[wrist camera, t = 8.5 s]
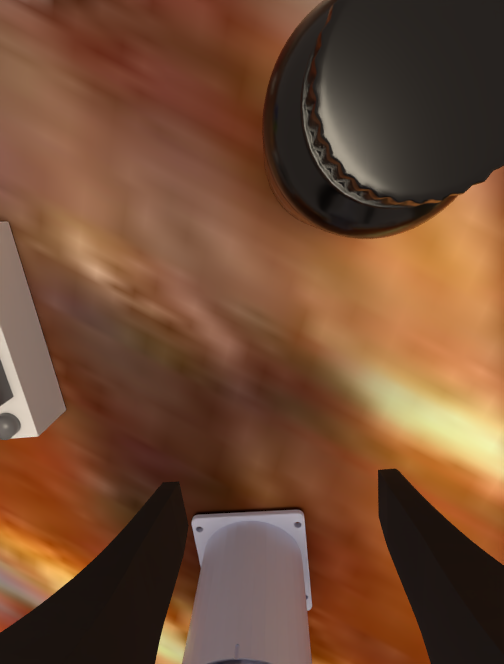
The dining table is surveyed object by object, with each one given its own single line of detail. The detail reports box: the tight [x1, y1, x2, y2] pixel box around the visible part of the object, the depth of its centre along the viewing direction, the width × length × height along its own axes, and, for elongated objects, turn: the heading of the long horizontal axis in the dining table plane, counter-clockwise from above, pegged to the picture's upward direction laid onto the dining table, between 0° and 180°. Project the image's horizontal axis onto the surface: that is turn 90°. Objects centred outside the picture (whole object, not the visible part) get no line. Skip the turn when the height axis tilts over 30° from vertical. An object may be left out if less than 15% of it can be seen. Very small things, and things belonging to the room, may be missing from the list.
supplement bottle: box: [263, 0, 504, 239], centre depth 13 cm, size 7×7×12 cm
